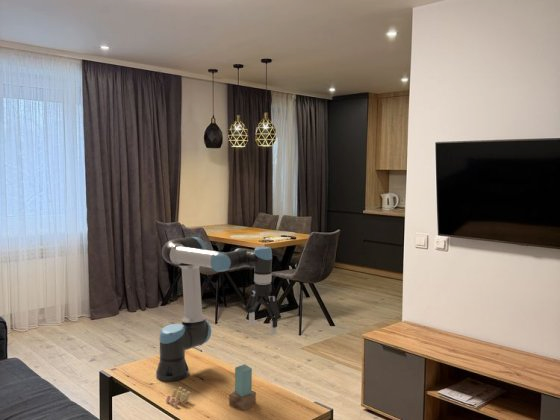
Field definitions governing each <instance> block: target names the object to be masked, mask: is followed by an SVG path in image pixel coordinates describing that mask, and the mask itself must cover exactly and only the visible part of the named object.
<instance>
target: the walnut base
mask: <svg viewBox="0 0 560 420" xmlns="http://www.w3.org/2000/svg"><path fill="white" fill-rule="evenodd" d="M228 396H229V397H228V399H229V400H228V402H229V403H228V404H229V405H228V406H229V407H232V408H236V409H239V410H242V411H247V410H248V409H249V408H250V407H252V406H253V405H255V404H256V403H257V398H256V397H257V392H256V391H254V390H252V393H251V394H248V395H246V396H243V397H241V396H240V395H238V394H237V393H235V390H234V391H233V392H231V393H230V394H229V395H228Z"/></svg>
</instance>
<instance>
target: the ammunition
mask: <svg viewBox="0 0 560 420" xmlns="http://www.w3.org/2000/svg"><path fill="white" fill-rule="evenodd" d="M190 396H191V392H190V391H187V389H185V388H183V387H182V386H179V387H178V389H176V388H174V389H173V391H172V394H171V396H168V395H167V397H166V403H167V404H168V403H169V405H171V406H172V405H173V404H174V408H177V407H178V406H179V403H180V402H182V403H184V404H187V402H188V401H189V399H190Z"/></svg>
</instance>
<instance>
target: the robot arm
mask: <svg viewBox="0 0 560 420" xmlns="http://www.w3.org/2000/svg"><path fill="white" fill-rule="evenodd" d="M161 256H162V258H163V260H164V261H165V262H166V263H169V264H170V265H171V264H173V265H178V267H179V268H180V269H181V277H182V295H183V309H184V316H183V318H182V319H181V323H174V324H173V323H171V324H168V325H165V326H163V328H162V329H161V330H160V331H159V332H160V333H159V338H158V339H159V361H158V364H157V369H156V370H155V373H156V374H155V377H156V379H157V380H159V381H162V382H177V381H181V380H184V379H186V378H187V377H189V366H188V364H187V361H186V357H185V356H186V355H185V354H186V353H185V352H186V350H187V351H188V350H190V349H192V348H196V347H200V346H202V345H204V344H205V343H207V342H208V341H209V340H210V338H211V336H212V326H211V325H210V323H209V321H208V320H207V319H206V317H205V316H204V315H203V307H202V306H203V304H202V290H201V289H202V288H201V274H200V273H201V272H200V267H203V268H208V269H212V270H213V271H214V272H216V273H220V272H221V273H222V272H223V273H224V272H226V271H231V270H234V269H235V270H236V269H240V268H243V267H244V268H245V267H248V268H254V270H253V271H254V272H253V273H254V274H253V282H254V283H253V290H251V291H250V292H249V297H248V300H247V302H246V305H245V308H244V310H245V311H247V313H248V315H247V318H248V328H249V329H251V328H254V327H255V325H256V323H255V322H256V321H255V319H256V318H255V317H256V316H255V315H256V314H255V309H256V308H257V307H258V306H259V304H261V305H263V306H264V307H265V308H266V311H267V312H268V314H269V316H270V318H271V319H270V334H269V335H270V336H274V335H277V327H278V320H280V319H282V316H281V313H280V310H279V306H278V303H277V297H276V295H272V296H271V292H272V275H273V273H272V266H273V264H272V263H273V253H272V248H271V247H270V246H256V247H255V248H254V249H249V248H245V247H243V248H241V247H240V248H236V249H234V250H233V251H228V252H227V251H226V252H224V251H218V250H217V251H216V250H210V249H209V250H208V249H207V247H206V244H205V242H204V241H203V240H202V239H201V238H200V237H197V236H188V237H181V238H173V239H170V240H169V241H167V242H166V243H165V244H164V245H163V246H162V248H161Z"/></svg>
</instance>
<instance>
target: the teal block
mask: <svg viewBox="0 0 560 420" xmlns="http://www.w3.org/2000/svg"><path fill="white" fill-rule="evenodd" d="M252 371H253V369H252V368H251V366H248V365H247V364H245V363H244V364H242V365H239V366H236V367H235V368H234V391H235V393H237V394H238V395H240V396H241V397H243V396H246V395H248V394H251V393H252V391H253V389H252V384H253V383H252V382H253V381H252V379H253V376H252V375H253V372H252Z"/></svg>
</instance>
